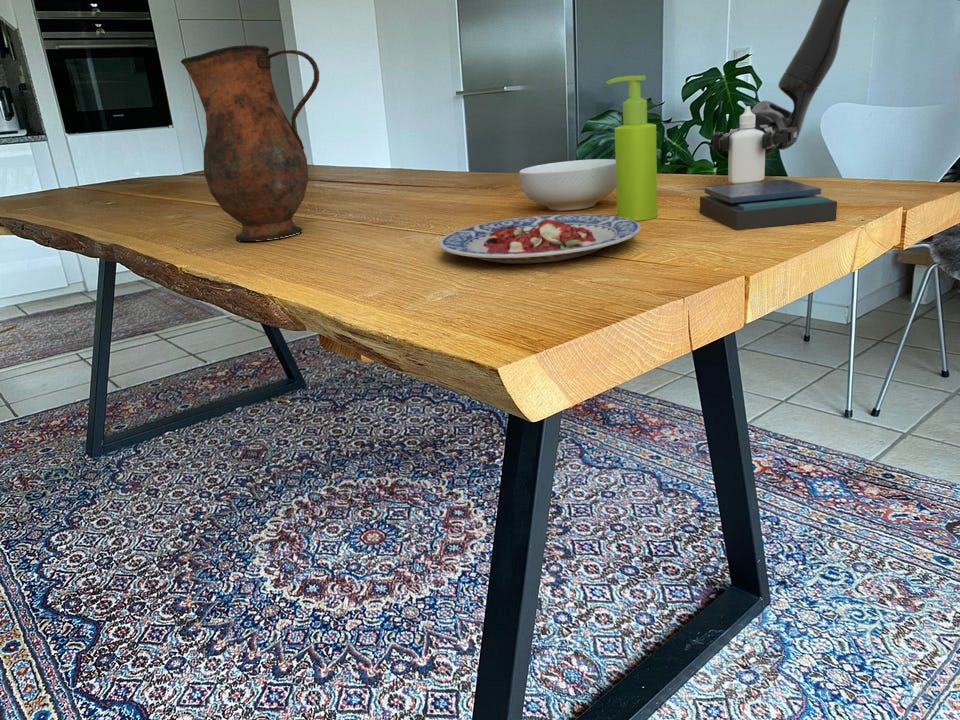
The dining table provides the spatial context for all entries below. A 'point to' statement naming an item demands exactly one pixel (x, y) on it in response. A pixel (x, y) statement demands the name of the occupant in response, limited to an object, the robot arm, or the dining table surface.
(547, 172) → the cereal bowl
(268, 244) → the dining table surface
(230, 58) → the pitcher
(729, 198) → the scale plate
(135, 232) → the dining table surface
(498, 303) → the dining table surface
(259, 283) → the dining table surface
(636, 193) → the soap dispenser
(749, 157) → the eye dropper bottle
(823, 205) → the scale
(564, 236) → the ceramic plate
